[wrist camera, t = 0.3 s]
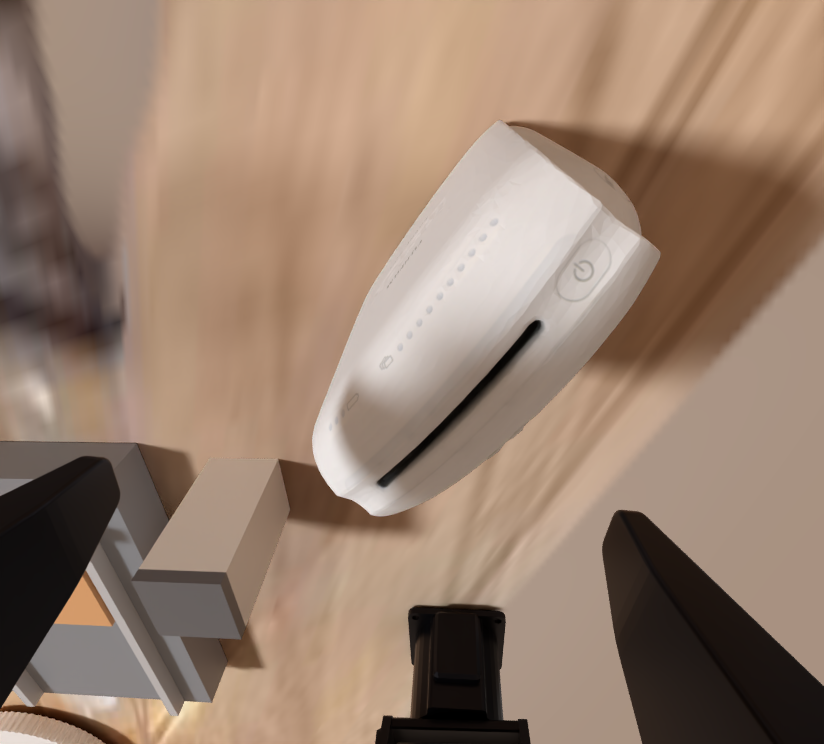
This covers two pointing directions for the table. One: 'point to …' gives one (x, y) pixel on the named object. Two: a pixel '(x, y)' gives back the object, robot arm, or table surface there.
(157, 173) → the table surface
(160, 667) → the socket plate
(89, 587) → the shutter
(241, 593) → the plug
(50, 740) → the plastic lid
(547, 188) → the photo printer
